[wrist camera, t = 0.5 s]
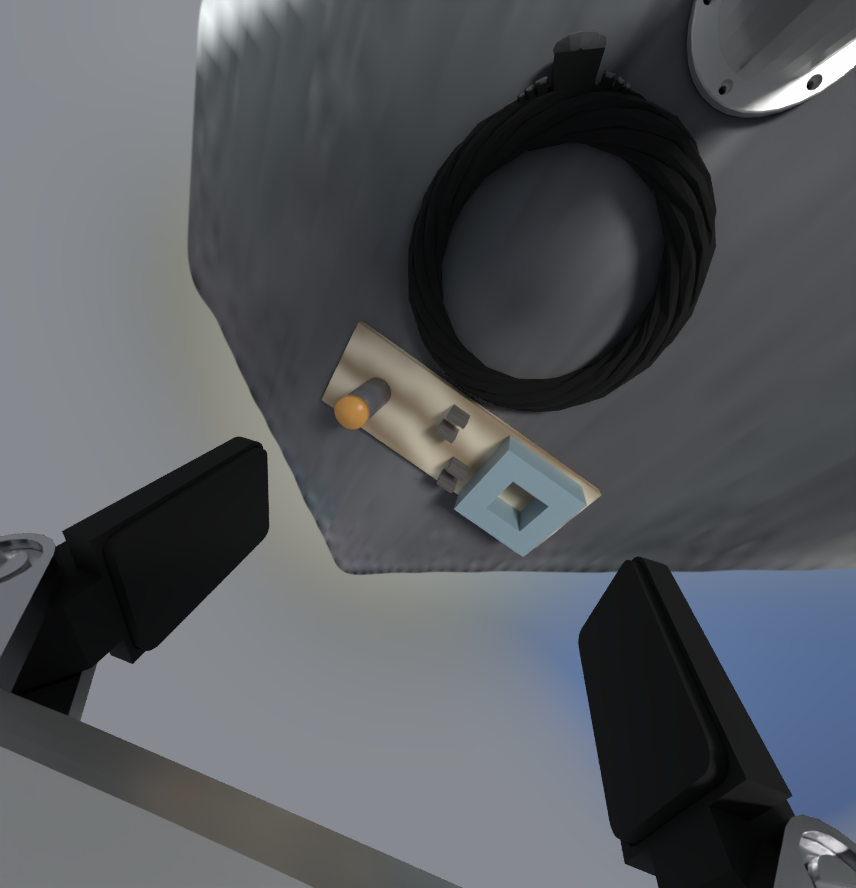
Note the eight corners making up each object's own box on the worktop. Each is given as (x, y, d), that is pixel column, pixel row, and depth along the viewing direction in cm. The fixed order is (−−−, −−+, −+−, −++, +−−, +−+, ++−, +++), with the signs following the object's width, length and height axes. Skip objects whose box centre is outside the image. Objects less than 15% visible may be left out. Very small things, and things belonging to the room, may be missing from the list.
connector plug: (372, 371, 42) (342, 391, 35) (396, 388, 43) (371, 411, 36) (360, 394, 44) (329, 416, 37) (383, 410, 44) (356, 435, 37)
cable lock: (404, 402, 41) (399, 47, 27) (413, 393, 44) (412, 71, 31) (661, 431, 35) (820, -6, 21) (649, 417, 38) (780, 32, 25)
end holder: (510, 435, 42) (508, 450, 38) (581, 486, 42) (587, 505, 39) (459, 491, 47) (453, 509, 44) (523, 536, 48) (523, 557, 44)
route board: (362, 321, 41) (347, 325, 38) (599, 489, 43) (605, 508, 40) (325, 397, 47) (309, 407, 44) (535, 542, 49) (535, 562, 46)
